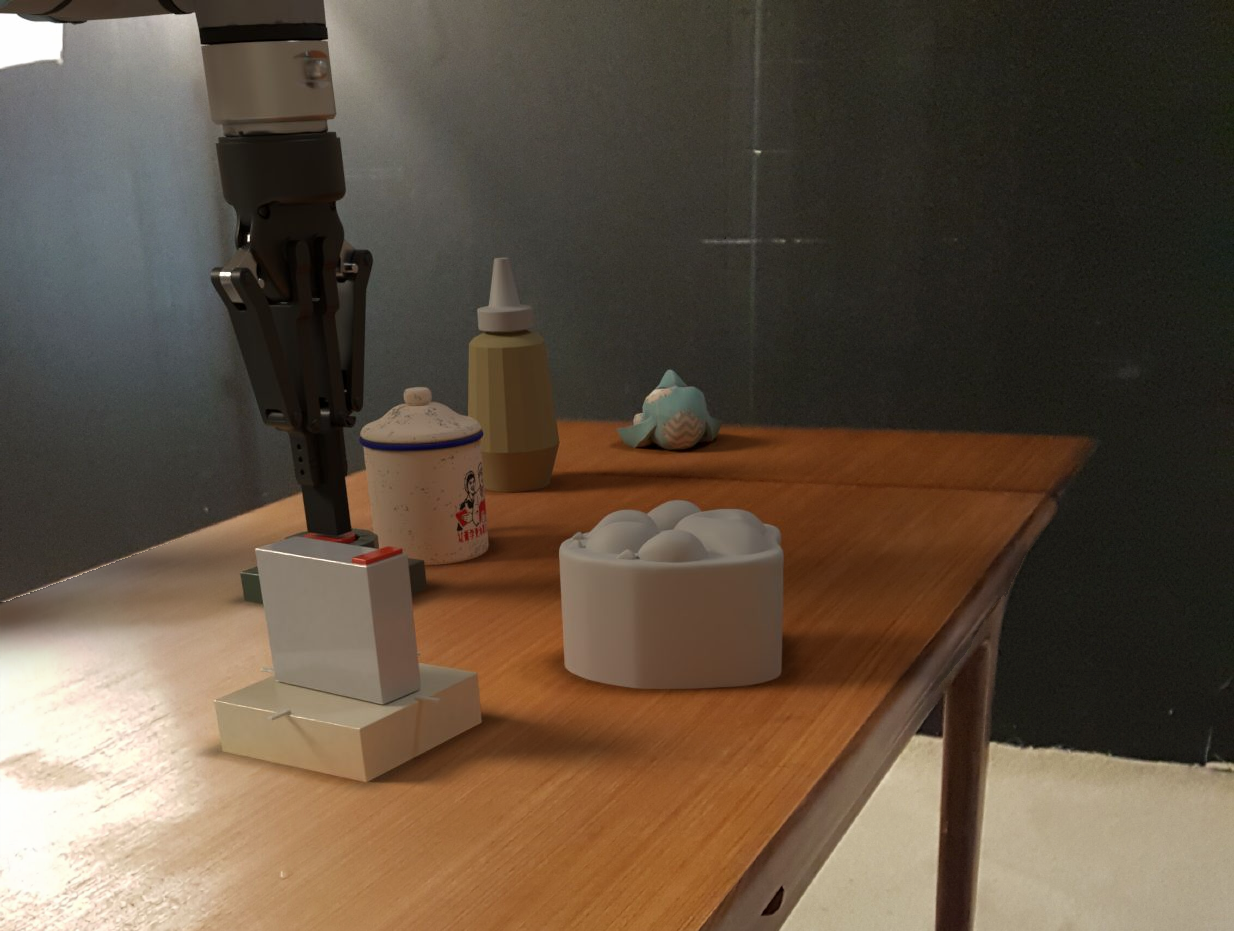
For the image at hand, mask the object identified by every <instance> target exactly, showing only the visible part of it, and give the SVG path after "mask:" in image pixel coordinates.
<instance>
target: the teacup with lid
mask: <svg viewBox="0 0 1234 931" xmlns="http://www.w3.org/2000/svg"><path fill="white" fill-rule="evenodd" d="M432 399H433V396H432V391H431V390H430V388H429V387H426V386H414V387H408V388H406V389H404V392H403V400H404V403H400V404H398V405H396V406H394V407H392V408H391V409H390V410H388V411H387V413H385V414H384V415H383V416H382V417H380V418H379V419H376V420H373V421H371V422H369V423H367V424H365V425H364V426H362V429H361V430H360V436H359V438H358V442H359V444H360V445H361V446H362V447H363V456H364V464H365V473H366V482H367V483H366V484H367V491H368V499H369V508H370V516H371V526H372V532H373V533H375V534H376V535H378V542H379V549H381V548H384V547H387V546H389V547H396V548H402V550H403V553H406V554H407V556H408V558H411V559H419V560H424V563H425V567H426V566H440V565H448V564H449V565H450V564H455V563H462V562H465V561H470V560H472V559H476V558H478V557H481V556H483V555H484V554H485V553H487V551H488V550H489V545H490V544H489V533H488V532H489V531H488V519H487V506H486V505H487V504H486V493H485V489H484V478H483V465H482V452H481V438H482V437H483V431H482V429H481V425H480V424H479V422H478V421H477V420H475V419H474V418H471V417H468V415H463V414H461V413H457V412H456V411H454V410H453V409H451V408H450V407H448V406H447V405H445V404H443V403H440V402H437V401H432Z"/></svg>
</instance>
